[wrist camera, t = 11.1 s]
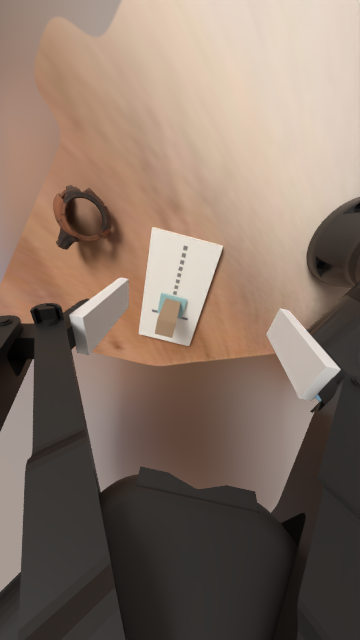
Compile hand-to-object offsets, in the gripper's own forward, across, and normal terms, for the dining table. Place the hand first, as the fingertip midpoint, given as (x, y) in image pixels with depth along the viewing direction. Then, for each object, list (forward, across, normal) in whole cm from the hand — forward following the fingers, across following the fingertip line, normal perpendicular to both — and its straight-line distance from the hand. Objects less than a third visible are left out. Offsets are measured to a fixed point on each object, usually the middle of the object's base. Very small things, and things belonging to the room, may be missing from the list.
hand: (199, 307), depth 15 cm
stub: (+22, +5, +12) cm, 26 cm away
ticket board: (+24, +4, +10) cm, 27 cm away
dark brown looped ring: (+24, +24, -2) cm, 34 cm away
